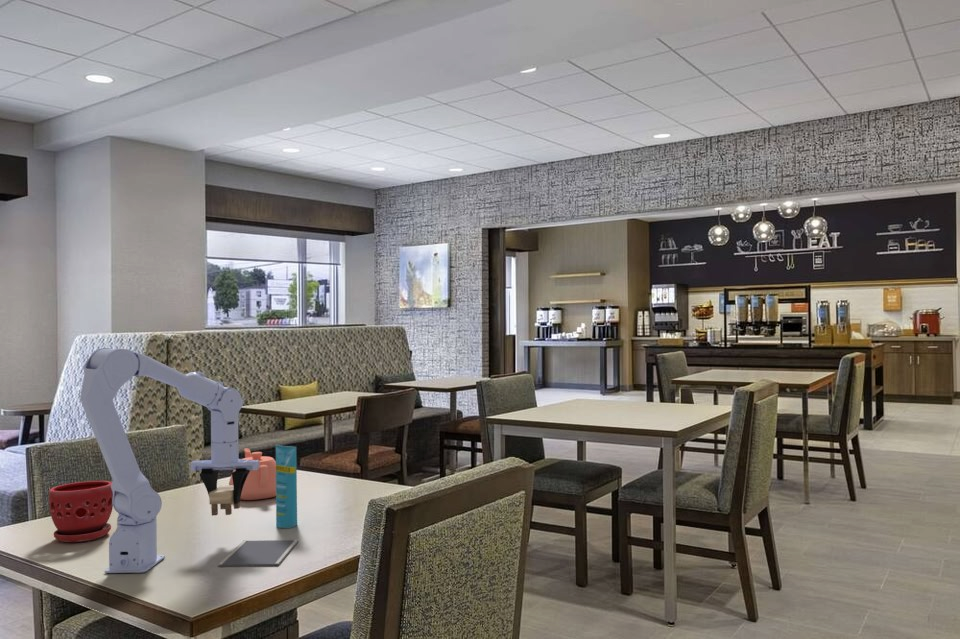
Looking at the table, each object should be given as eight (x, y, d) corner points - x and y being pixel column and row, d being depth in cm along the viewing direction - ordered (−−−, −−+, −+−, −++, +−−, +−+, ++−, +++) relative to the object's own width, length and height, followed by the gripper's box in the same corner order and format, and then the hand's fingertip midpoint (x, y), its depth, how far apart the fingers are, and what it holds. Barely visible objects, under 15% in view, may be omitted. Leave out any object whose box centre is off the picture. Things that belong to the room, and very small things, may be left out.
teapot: (220, 491, 212) (220, 449, 212) (272, 485, 220) (272, 444, 220) (237, 507, 193) (237, 460, 194) (294, 499, 201) (293, 455, 201)
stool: (230, 515, 158) (229, 491, 158) (210, 515, 158) (209, 492, 158) (241, 507, 165) (240, 484, 165) (221, 507, 165) (220, 485, 165)
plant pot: (127, 531, 172) (126, 480, 172) (82, 547, 160) (82, 492, 160) (81, 527, 176) (81, 477, 176) (35, 543, 163) (34, 489, 163)
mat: (278, 565, 146) (278, 563, 146) (218, 566, 146) (218, 564, 146) (298, 541, 162) (298, 539, 162) (244, 542, 162) (244, 540, 162)
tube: (268, 526, 175) (267, 445, 175) (283, 521, 179) (282, 442, 179) (291, 530, 171) (290, 448, 171) (305, 525, 175) (305, 445, 175)
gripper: (262, 438, 166) (263, 498, 166) (198, 438, 166) (199, 498, 166) (253, 443, 159) (253, 505, 159) (186, 443, 159) (187, 506, 159)
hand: (225, 502), depth 162 cm, fingers closed on stool, 4 cm apart
